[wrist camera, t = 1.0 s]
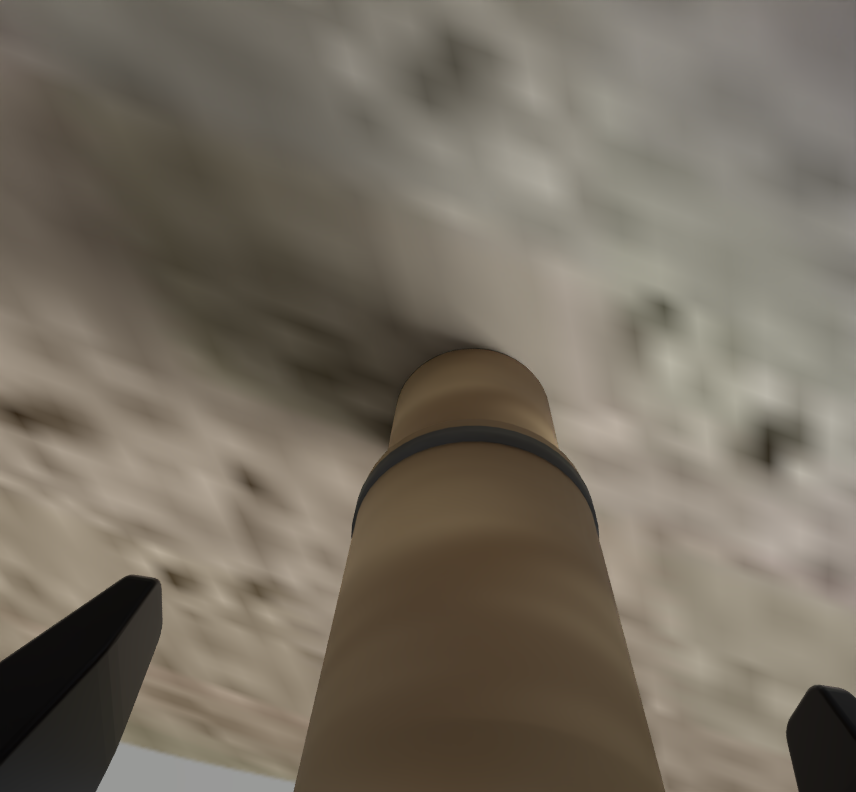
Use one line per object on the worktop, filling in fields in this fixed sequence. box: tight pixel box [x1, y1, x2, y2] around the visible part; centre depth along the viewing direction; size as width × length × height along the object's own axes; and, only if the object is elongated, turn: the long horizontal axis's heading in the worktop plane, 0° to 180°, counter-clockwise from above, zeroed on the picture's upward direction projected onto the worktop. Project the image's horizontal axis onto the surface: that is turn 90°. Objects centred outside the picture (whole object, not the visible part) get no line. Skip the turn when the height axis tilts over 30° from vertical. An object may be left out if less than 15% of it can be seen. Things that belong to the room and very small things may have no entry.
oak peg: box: [294, 349, 665, 792], centre depth 11 cm, size 4×4×9 cm
